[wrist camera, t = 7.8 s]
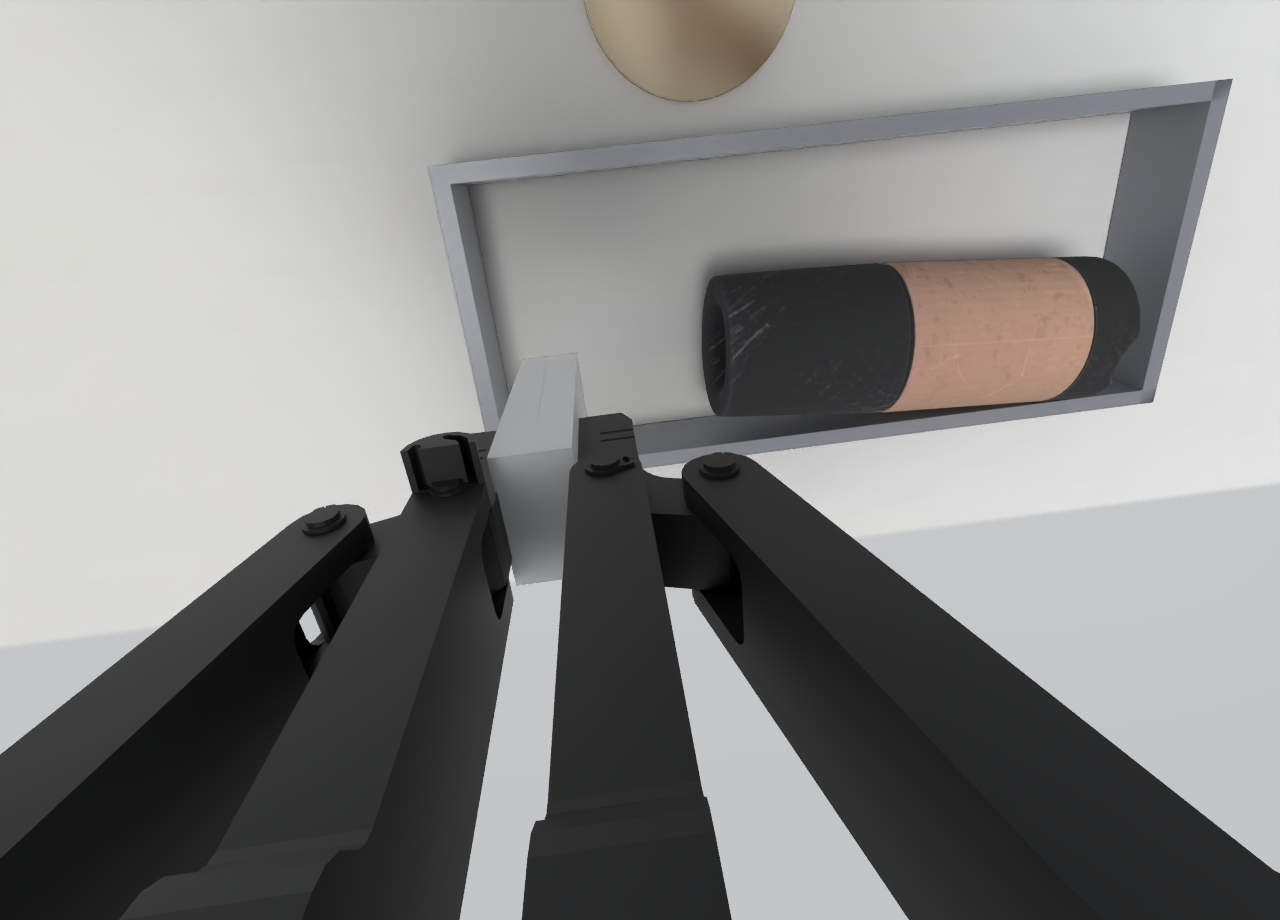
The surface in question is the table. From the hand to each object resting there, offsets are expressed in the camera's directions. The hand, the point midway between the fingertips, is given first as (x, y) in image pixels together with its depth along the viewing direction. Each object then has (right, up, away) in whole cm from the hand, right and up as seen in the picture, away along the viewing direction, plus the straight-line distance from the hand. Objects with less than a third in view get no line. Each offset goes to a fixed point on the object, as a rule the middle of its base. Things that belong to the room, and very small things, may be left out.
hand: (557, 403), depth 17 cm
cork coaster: (+5, +21, +11) cm, 24 cm away
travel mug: (+6, +4, +15) cm, 16 cm away
